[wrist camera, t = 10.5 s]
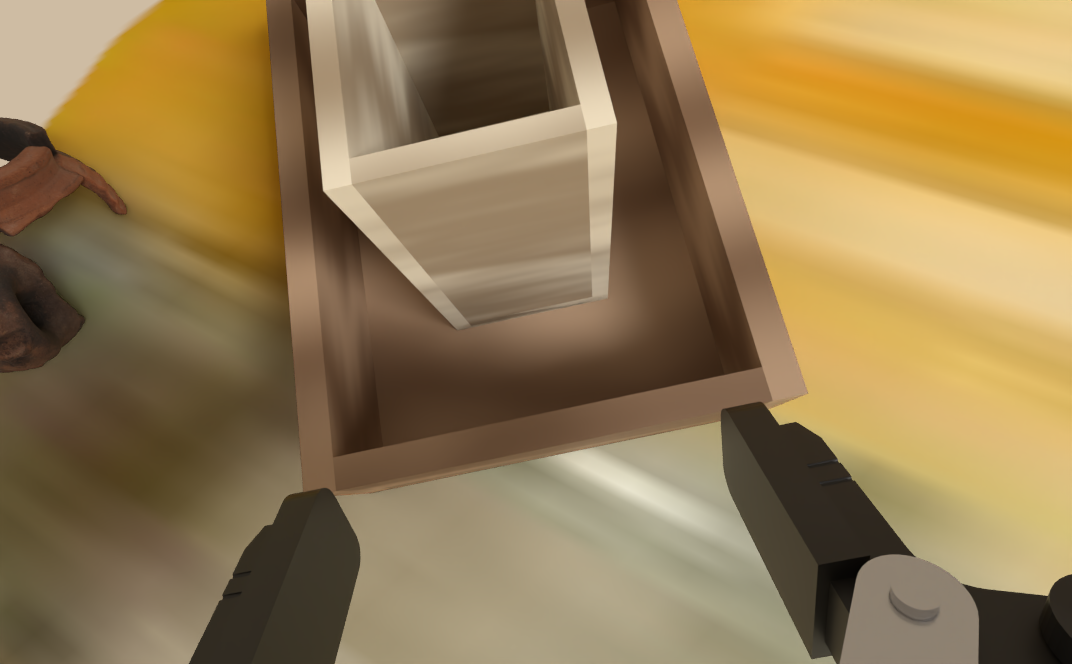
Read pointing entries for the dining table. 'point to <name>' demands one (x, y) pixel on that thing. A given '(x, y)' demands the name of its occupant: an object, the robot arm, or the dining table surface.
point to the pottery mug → (15, 281)
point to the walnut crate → (544, 338)
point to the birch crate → (470, 147)
